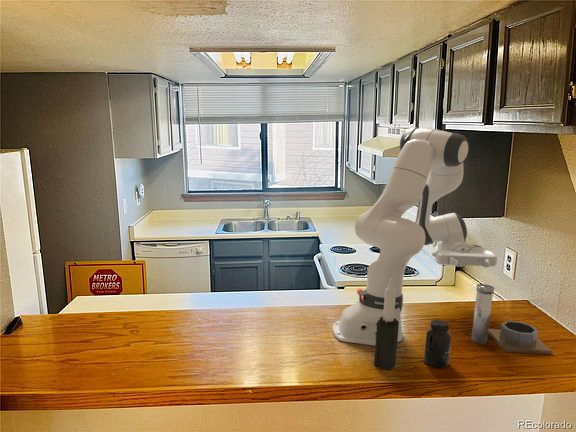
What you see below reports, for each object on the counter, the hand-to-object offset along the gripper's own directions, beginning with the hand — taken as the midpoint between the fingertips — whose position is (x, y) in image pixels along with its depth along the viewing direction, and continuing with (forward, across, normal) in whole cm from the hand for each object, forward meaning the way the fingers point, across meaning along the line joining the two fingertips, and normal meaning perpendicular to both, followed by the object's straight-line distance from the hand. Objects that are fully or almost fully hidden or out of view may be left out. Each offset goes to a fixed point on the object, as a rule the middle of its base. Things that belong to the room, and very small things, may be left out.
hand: (472, 264), depth 152 cm
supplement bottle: (+28, -18, +21) cm, 40 cm away
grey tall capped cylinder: (+12, 0, +22) cm, 25 cm away
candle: (+31, -33, +21) cm, 50 cm away
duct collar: (+12, +12, +22) cm, 27 cm away
